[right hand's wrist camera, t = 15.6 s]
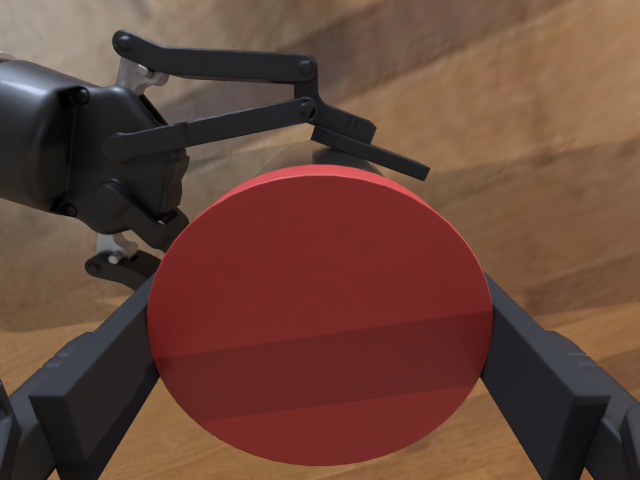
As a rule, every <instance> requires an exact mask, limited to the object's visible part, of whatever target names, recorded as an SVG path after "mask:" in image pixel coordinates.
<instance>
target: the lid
mask: <svg viewBox="0 0 640 480" xmlns="http://www.w3.org/2000/svg"><path fill="white" fill-rule="evenodd" d="M492 329H493V312H492V301H491V295H490V292H489V288H488V284H487V280H486V277H485V275H484V273H483V270H482V268H481V266H480V264H479V261H478V259H477V258H476V256H475V255H474V253H473V251H472V250H471V248H470V247H469V245H468V244H467V242H466V241H465V240H464V238H463V237H462V236H461V235H460V234H459V233H458V232H457V231H456V229H455V228H454V227H453V226H452V225H451V224H450V223H449V222H448V221H447V220H445V219H444V218H443V217H442V216H441V215H440V214H438V213H437V212H436V211H435V210H434V209H432V208H431V207H430V206H429V205H428V204H426V203H425V202H424V201H423V200H422V199H420V198H419V197H418V196H417V195H416V194H414V193H413V192H411V191H409V190H408V189H406V188H404V187H403V186H401V185H400V184H398V183H396V182H394V181H392V180H389V179H387V178H385V177H382V176H380V175H378V174H375V173H371V172H368V171H364V170H361V169H357V168H352V167H345V166H338V165H302V166H294V167H287V168H283V169H279V170H276V171H272V172H268V173H265V174H262V175H260V176H258V177H255V178H253V179H250V180H248V181H246V182H244V183H242V184H240V185H239V186H237V187H235V188H234V189H232V190H230V191H229V192H227V193H226V194H224V195H223V196H222V197H221V198H219V199H218V200H217V201H216V202H214V203H213V204H212V205H211V206H210V207H208V208H207V209H206V210H205V211H204V212H202V213H201V214H200V215H199V216H198V217H197V218H195V219H194V220H193V221H192V222H191V223H190V224H189V225H188V226H187V227H186V228H185V229H184V230H183V231H182V233H181V234H180V235H179V236H178V237H177V238H176V239H175V241H174V242H173V244H172V245H171V247H170V248H169V250H168V251H167V253H166V254H165V256H164V257H163V259H162V261H161V263H160V266H159V268H158V270H157V272H156V274H155V276H154V280H153V283H152V287H151V291H150V294H149V300H148V309H147V334H148V339H149V344H150V349H151V353H152V357H153V360H154V363H155V366H156V368H157V371H158V373H159V375H160V377H161V379H162V381H163V382H164V384H165V386H166V388H167V389H168V391H169V392H170V394H171V395H172V396H173V398H174V399H175V401H176V402H177V403H178V404H179V406H180V407H181V408H182V409H183V410H184V411H185V412H186V413H187V414H188V415H189V416H190V417H191V418H192V419H193V420H194V421H196V422H197V423H198V424H199V425H200V426H201V427H203V428H204V429H205V430H207V431H208V432H210V433H211V434H213V435H214V436H216V437H217V438H219V439H220V440H222V441H224V442H226V443H228V444H230V445H232V446H233V447H235V448H237V449H240V450H242V451H245V452H247V453H250V454H252V455H255V456H259V457H262V458H265V459H269V460H272V461H277V462H283V463H288V464H295V465H306V466H334V465H345V464H352V463H357V462H363V461H367V460H371V459H374V458H378V457H381V456H385V455H387V454H390V453H392V452H395V451H397V450H400V449H402V448H404V447H406V446H408V445H410V444H412V443H414V442H416V441H418V440H420V439H421V438H423V437H424V436H426V435H427V434H429V433H430V432H432V431H433V430H435V429H436V428H437V427H438V426H439V425H441V424H442V423H443V422H444V421H445V420H447V419H448V418H449V417H450V416H451V415H452V414H453V413H454V412H455V411H456V410H457V409H458V407H459V406H460V405H461V404H462V403H463V402H464V400H465V399H466V398H467V396H468V395H469V393H470V392H471V391H472V389H473V387H474V386H475V384H476V382H477V380H478V378H479V377H480V375H481V373H482V370H483V368H484V365H485V362H486V360H487V357H488V352H489V347H490V343H491V338H492Z"/></svg>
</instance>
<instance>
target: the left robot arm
mask: <svg viewBox="0 0 640 480" xmlns="http://www.w3.org/2000/svg"><path fill="white" fill-rule="evenodd" d="M112 44H113V47H114V50H115V51H116V52H117V53H118V54H119V55H120V56H121V62H120V67H119V72H118V77H117V82H116V85H113V86H108V87H100V86H97V85H94V84H91V83H88V82H85V81H83V80H80V79H77V78H74V77H71V76H69V75H66V74H63V73H60V72H57V71H55V70H52V69H49V68H46V67H43V66H41V65H38V64H35V63H32V62H28V61H23V60H18V59H17V58H15V57H13V56H12V55H10V54H7V53H4V52H1V51H0V198H3V199H6V200H9V201H12V202H16V203H19V204H22V205H25V206H28V207H32V208H35V209H38V210H41V211H45V212H48V213H53V214H58V215H64V216H69V217H74V218H77V219H79V220H81V221H82V222H84V223H85V224H86V225H88V226H89V227H90V228H91V229H92V230H94V231H95V232H97V234H96V251H95V256H93V257H92V258H90V259H89V260H87V261H86V262H85V270H86V271H87V273H89V274H90V275H92V276H94V277H98V278H102V279H106V280H110V281H114V282H119V283H123V284H124V285H126V286H128V287H130V288H131V289H133V290H135V291H136V290H137V289H139V288H140V287H141V286H142V285H143V284H144V283H145V282H146V281H147V280H148V279H149V278H150V277H151V276H152V275H153V274H154V273H155V272H156V271H157V270H158V268H159V266H160V263H161V261H162V260H160V259H158V258H157V257H155V256H153V255H151V254H149V253H146V252H144V251H141V250H138V249H137V248H138V245H137V243H135V242H129V241H127V240H126V239H125V238H124V237H123V235H122V232H123V231H127V230H130V229H131V230H133V231H134V232H135V233H136V234H137V235H138V236H139V237H140V238H141V239H142V240H144V241H145V242H146V243H147V244H148V245H149V246H151V247H152V248H154V249H160V250H162V251H163V252H164V253H165V254H166V253H167V251H168V250H169V248H170V247H171V245H172V244H173V242H174V241H175V239H176V238H177V237H178V236H179V235H180V234H181V233H182V231H183V230H184V229H185V228H186V227H187V226H188V225H189V220H188V218H187V217H186V215H185V214H184V213H182V212H181V211H180V210H179V209H178V208H177V206H178V205H180V201H181V196H182V184H181V180H182V178H183V176H184V174H185V172H186V170H187V168H188V163H189V158H190V157H189V156H187V155H186V150H185V148H186V147H190V146H195V145H199V144H204V143H209V142H214V141H219V140H224V139H229V138H234V137H238V136H243V135H248V134H253V133H258V132H263V131H268V130H273V129H277V128H282V127H287V126H292V125H297V124H302V123H309V124H311V125H314V126H315V127H314V130H313V133H312V136H311V140H312V141H315V142H318V143H320V144H323V145H326V146H328V147H331V148H334V149H337V150H339V151H342V152H345V153H348V154H351V155H353V156H356V157H359V158H361V159H364V160H367V161H370V162H372V163H375V164H378V165H381V166H383V167H386V168H389V169H392V170H394V171H397V172H400V173H403V174H405V175H408V176H411V177H414V178H416V179H419V180H422V181H425V179H426V177H427V174H428V172H429V170H430V168H429V167H427V166H425V165H423V164H421V163H419V162H417V161H415V160H412V159H409V158H406V157H404V156H401V155H398V154H396V153H393V152H390V151H388V150H385V149H382V148H379V147H377V146H374V145H371V141H372V139H373V136H374V134H375V131H376V129H377V127H376V126H375V125H374V124H373V123H371V122H370V121H369V120H367V119H364V118H361V117H359V116H356V115H353V114H351V113H348V112H345V111H343V110H340V109H338V108H335V107H332V106H330V105H327V104H325V103H324V102H323V101H322V100H321V98H320V97H319V94H318V69H317V63H316V61H315V59H314V58H313V57H311V56H310V55H307V54H292V53H274V52H256V51H238V50H220V49H202V48H183V47H165V46H162V45H159V44H157V43H155V42H153V41H150V40H148V39H146V38H143V37H141V36H139V35H136V34H134V33H132V32H129V31H126V30H119V31H117V32H116V33H115V34H114V36H113V38H112ZM169 75H173V76H177V77H181V78H187V79H199V80H218V81H237V82H255V83H274V84H293V85H294V94H295V99H293V100H288V101H284V102H279V103H274V104H269V105H264V106H260V107H255V108H250V109H245V110H241V111H236V112H231V113H226V114H222V115H217V116H212V117H207V118H203V119H198V120H193V121H188V122H183V123H177V124H172V125H168V124H167V122H166V121H165V120H164V119H163V117H162V116H161V115H160V114H159V112H158V111H157V110H156V109H155V107H154V106H153V105H152V104H151V102H150V101H149V100H148V99H147V97H146V96H145V95H144V94H143V93H144V90H145V89H146V88H147V87H148V86H152V85H154V86H163V85H164V84H166V82H167V81H168V78H169ZM159 220H161V221H162V222H163V223H164V225H163V224H161V223H159V222H158V221H159Z"/></svg>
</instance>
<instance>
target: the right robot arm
mask: <svg viewBox="0 0 640 480" xmlns="http://www.w3.org/2000/svg"><path fill="white" fill-rule="evenodd" d="M156 272H157V271H156ZM156 272H155V273H154V274H153V275H152V276H151V277H150V278H149V279H148V280H147V281H146V282H145V283H144V284H143V285H142V286H141V287H140V288H139V289H137V290H136V291H135V292H134V293H133V294H132V295H131V296H130V297H129V298H128V299H127V300H126V301H125V302H124V303H123V304H122V305H121V306H120V307H119V308H118V309H117V310H116V311H115V312H114V313H113V314H112V315H111V316H110V317H109V318H108V319H106V320H105V321H104V322H103V323H102V324H101V325H100V326H99V327H98V328H97V329H96V330H95V331H94V332H85V333H84V334H82V335H80V336H79V337H77V338H75V339H73V340H72V341H70V342H68V343H67V344H66V345H65V346H64V347H63V348H62V349H60V350H59V351H58V352H57V353H56V354H55V356H54V357H52V358H51V359H49V360H48V361H47V362H46V363H45V364H44V365H43V368H40V369H38V370H37V371H36V372H35V373H34V374H33V375H32V376H31V377H30V378H29V379H28V380H26V381H25V382H24V383H23V384H22V385H21V386H20V387H19V388H18V389H17V390H15V391H14V392H13V393H12V394H11V395H10V396H9V397H8V396H7V393H6V391H5V388H4V386H3V383H2V381H1V379H0V480H47V479H48V477H49V476H50V475H51V473H52V472H53V471H54V469H55V468H56V470H57V473H58V475H59V478H60V480H98V478H99V476H100V475H101V473H102V472H103V470H104V468H105V467H106V465H107V463H108V462H109V460H110V458H111V457H112V455H113V453H114V452H115V450H116V448H117V447H118V445H119V443H120V442H121V440H122V439H123V437H124V435H125V434H126V432H127V430H128V429H129V427H130V425H131V424H132V422H133V420H134V419H135V417H136V415H137V414H138V412H139V410H140V409H141V407H142V406H143V404H144V402H145V401H146V399H147V397H148V396H149V394H150V392H151V391H152V389H153V387H154V386H155V384H156V382H157V381H158V379H159V377H160V375H159V373H158V371H157V368H156V366H155V363H154V360H153V357H152V353H151V349H150V344H149V339H148V334H147V309H148V300H149V294H150V291H151V287H152V283H153V280H154V276H155V274H156ZM483 273H484V275H485V277H486V280H487V284H488V288H489V292H490V295H491V301H492V312H493V329H492V338H491V343H490V347H489V352H488V357H487V360H486V362H485V365H484V368H483V370H482V373H481V375H480V378H481V379H482V381H483V383H484V384H485V386H486V388H487V389H488V391H489V393H490V394H491V396H492V398H493V399H494V401H495V403H496V404H497V406H498V407H499V409H500V411H501V412H502V414H503V416H504V417H505V419H506V421H507V422H508V424H509V426H510V427H511V429H512V431H513V432H514V434H515V436H516V437H517V439H518V440H519V442H520V444H521V445H522V447H523V449H524V450H525V452H526V454H527V455H528V457H529V459H530V460H531V462H532V464H533V465H534V467H535V469H536V470H537V472H538V473H539V475H540V477H541V478H542V480H580V477H581V475H582V472H583V469H584V467H585V468H586V469H587V470H588V472H589V473H590V474H591V476H592V477H593V478H594V480H640V402H638V401H637V400H636V399H635V398H634V397H633V396H632V395H631V394H630V393H629V392H627V391H626V390H625V389H624V388H623V387H622V386H621V385H620V384H619V383H617V382H616V381H615V380H614V379H613V378H612V377H611V376H610V375H609V374H608V373H606V372H605V371H604V370H603V369H602V368H601V367H598V366H597V363H595V362H594V361H593V360H592V359H591V358H590V357H589V356H586V354H585V353H584V352H583V351H582V350H581V349H580V348H579V347H578V346H577V345H576V344H574V343H573V342H572V341H571V340H569V339H567V338H565V337H564V336H562V335H560V334H558V333H557V332H555V331H545V330H544V329H543V328H542V327H541V326H540V325H538V324H537V323H536V322H535V321H534V320H533V319H532V318H531V317H530V316H529V315H528V314H527V313H526V312H525V311H524V310H523V309H522V308H521V307H520V306H519V305H518V304H517V303H516V302H515V301H514V300H513V299H512V298H511V297H510V296H509V295H507V294H506V293H505V292H504V291H503V290H502V289H501V288H500V287H499V286H498V285H497V284H496V283H495V282H494V281H493V280H492V279H491V278H490V277H489V276H488V275H487V274H486V273H485V272H484V271H483Z"/></svg>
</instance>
